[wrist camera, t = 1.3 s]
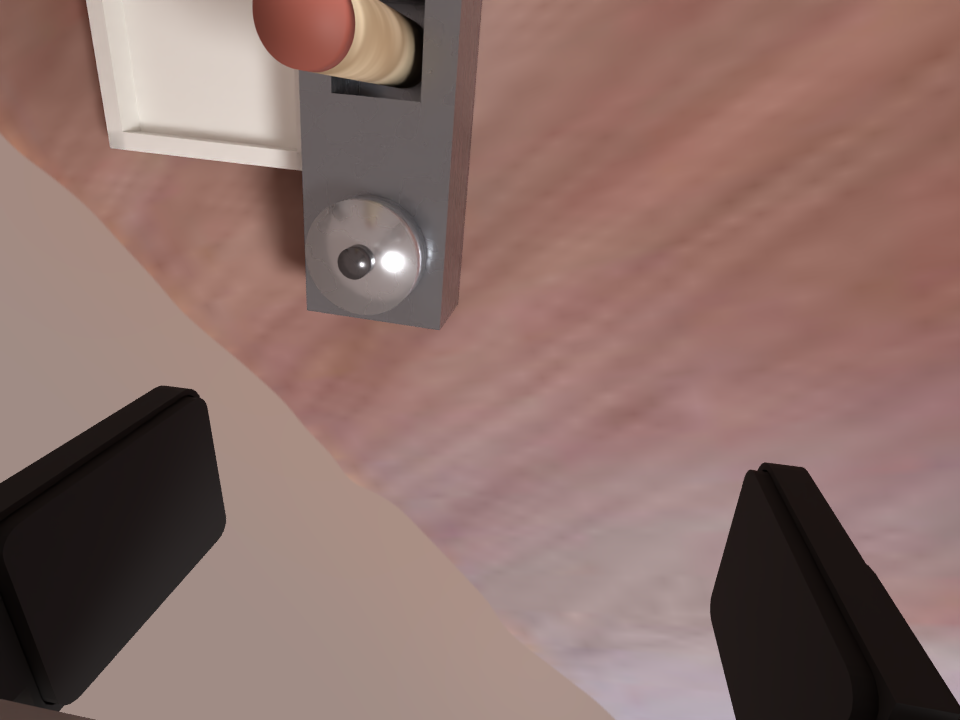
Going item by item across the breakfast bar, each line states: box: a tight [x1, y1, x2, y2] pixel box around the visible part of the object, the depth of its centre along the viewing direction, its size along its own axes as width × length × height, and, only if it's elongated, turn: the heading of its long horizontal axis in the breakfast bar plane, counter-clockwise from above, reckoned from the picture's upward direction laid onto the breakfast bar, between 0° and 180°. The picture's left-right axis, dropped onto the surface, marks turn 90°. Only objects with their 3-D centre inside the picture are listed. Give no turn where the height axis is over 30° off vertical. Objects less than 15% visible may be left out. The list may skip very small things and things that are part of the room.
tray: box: [86, 0, 302, 171], centre depth 31 cm, size 13×13×2 cm
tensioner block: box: [299, 0, 482, 330], centre depth 30 cm, size 18×8×8 cm, turn 175°
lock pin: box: [252, 0, 424, 89], centre depth 25 cm, size 3×3×12 cm
